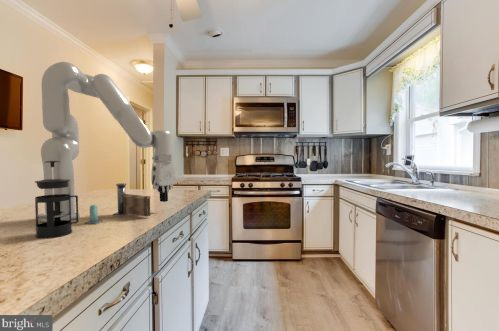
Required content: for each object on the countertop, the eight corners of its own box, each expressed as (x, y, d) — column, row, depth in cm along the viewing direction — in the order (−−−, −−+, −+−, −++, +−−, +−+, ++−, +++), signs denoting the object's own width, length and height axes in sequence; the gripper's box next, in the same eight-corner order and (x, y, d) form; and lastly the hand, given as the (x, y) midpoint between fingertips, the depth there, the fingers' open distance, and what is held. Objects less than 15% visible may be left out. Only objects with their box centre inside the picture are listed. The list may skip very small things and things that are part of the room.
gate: (122, 213, 112) (122, 194, 112) (126, 212, 113) (125, 193, 113) (147, 216, 105) (147, 196, 105) (150, 215, 107) (150, 196, 106)
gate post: (119, 212, 116) (118, 183, 116) (130, 212, 116) (129, 183, 115) (112, 215, 111) (112, 184, 111) (124, 215, 111) (123, 184, 110)
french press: (28, 240, 78) (25, 161, 77) (37, 232, 86) (35, 160, 86) (75, 235, 83) (73, 160, 82) (80, 228, 91) (78, 160, 91)
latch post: (92, 221, 101) (91, 203, 100) (102, 221, 100) (102, 203, 100) (85, 224, 97) (84, 205, 96) (95, 224, 96) (95, 205, 96)
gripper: (155, 159, 108) (156, 204, 109) (181, 158, 121) (182, 199, 122) (142, 159, 112) (143, 203, 113) (168, 158, 125) (170, 198, 126)
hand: (163, 201), depth 117 cm, fingers closed
